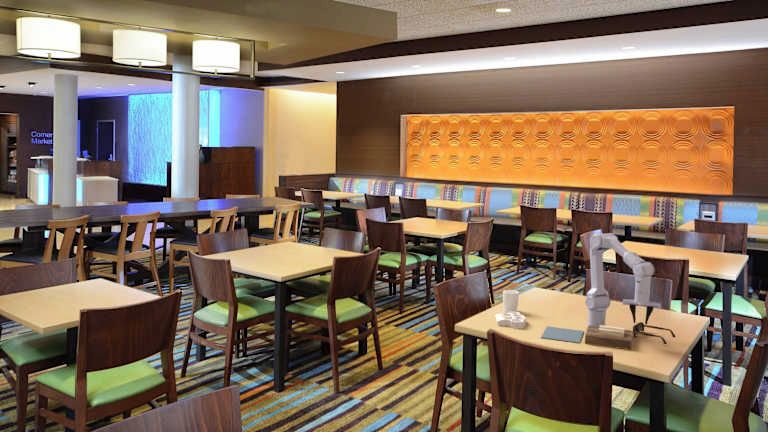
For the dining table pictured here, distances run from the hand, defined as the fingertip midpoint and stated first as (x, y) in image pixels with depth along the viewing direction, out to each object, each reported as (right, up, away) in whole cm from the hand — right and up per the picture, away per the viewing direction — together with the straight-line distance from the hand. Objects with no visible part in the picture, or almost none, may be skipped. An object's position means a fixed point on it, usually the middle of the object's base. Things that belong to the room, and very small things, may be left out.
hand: (640, 323), depth 253 cm
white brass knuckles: (-47, -6, +31) cm, 57 cm away
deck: (-11, -9, +6) cm, 15 cm away
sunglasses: (+10, -9, +12) cm, 18 cm away
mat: (-29, -8, +13) cm, 32 cm away
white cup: (-44, -3, +51) cm, 67 cm away
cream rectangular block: (-10, -5, +5) cm, 12 cm away
